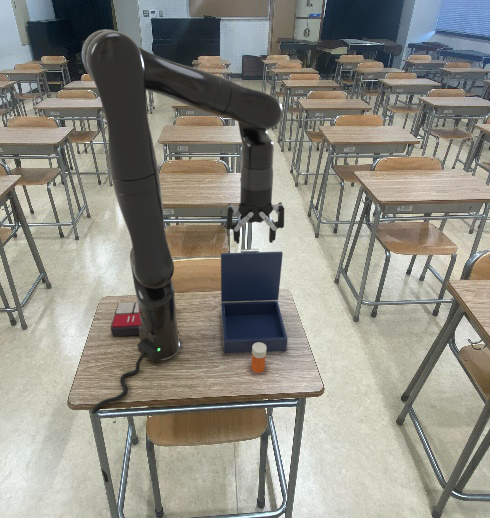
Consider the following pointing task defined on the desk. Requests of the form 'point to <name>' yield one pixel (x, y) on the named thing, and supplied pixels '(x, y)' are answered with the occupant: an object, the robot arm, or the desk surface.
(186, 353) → the desk surface
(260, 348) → the glue stick
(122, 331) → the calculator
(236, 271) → the lid
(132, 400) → the desk surface
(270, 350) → the pencil box
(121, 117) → the robot arm
